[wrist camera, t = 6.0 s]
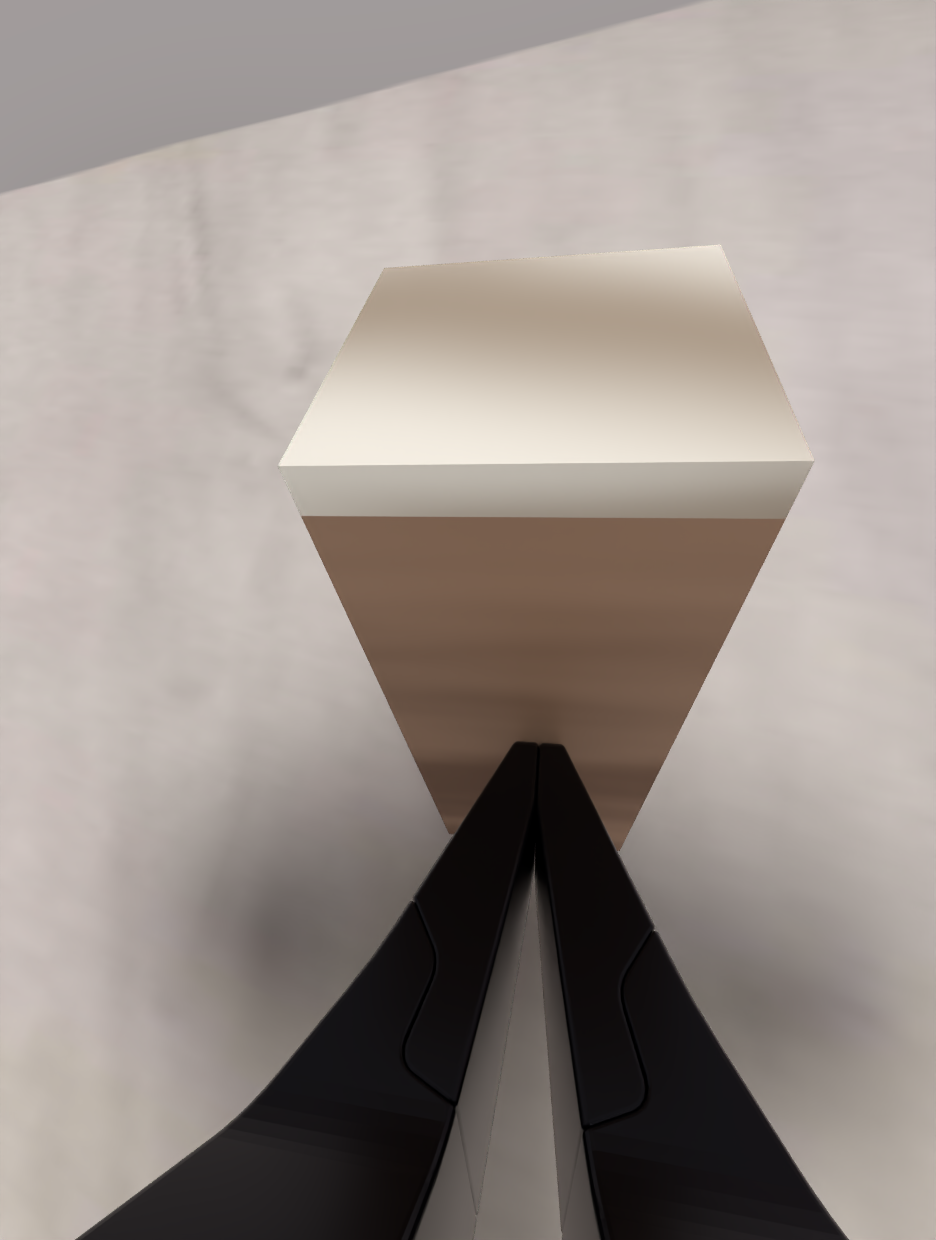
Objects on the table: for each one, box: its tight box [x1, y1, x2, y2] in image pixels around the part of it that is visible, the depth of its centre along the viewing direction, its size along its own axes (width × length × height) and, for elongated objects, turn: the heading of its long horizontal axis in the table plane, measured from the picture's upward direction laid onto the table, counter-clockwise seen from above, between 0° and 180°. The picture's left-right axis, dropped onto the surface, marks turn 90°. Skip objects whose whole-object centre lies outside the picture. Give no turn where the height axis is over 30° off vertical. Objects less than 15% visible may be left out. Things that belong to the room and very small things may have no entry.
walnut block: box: [278, 245, 814, 851], centre depth 11 cm, size 4×4×12 cm
